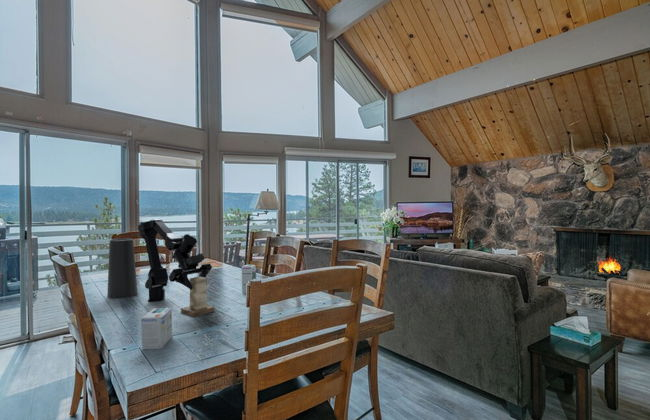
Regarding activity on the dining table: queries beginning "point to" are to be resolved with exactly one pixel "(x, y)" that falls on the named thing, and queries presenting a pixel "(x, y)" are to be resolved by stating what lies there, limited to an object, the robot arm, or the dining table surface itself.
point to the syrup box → (247, 275)
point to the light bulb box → (156, 328)
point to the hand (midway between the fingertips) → (199, 287)
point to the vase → (121, 269)
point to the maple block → (198, 293)
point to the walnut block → (197, 311)
